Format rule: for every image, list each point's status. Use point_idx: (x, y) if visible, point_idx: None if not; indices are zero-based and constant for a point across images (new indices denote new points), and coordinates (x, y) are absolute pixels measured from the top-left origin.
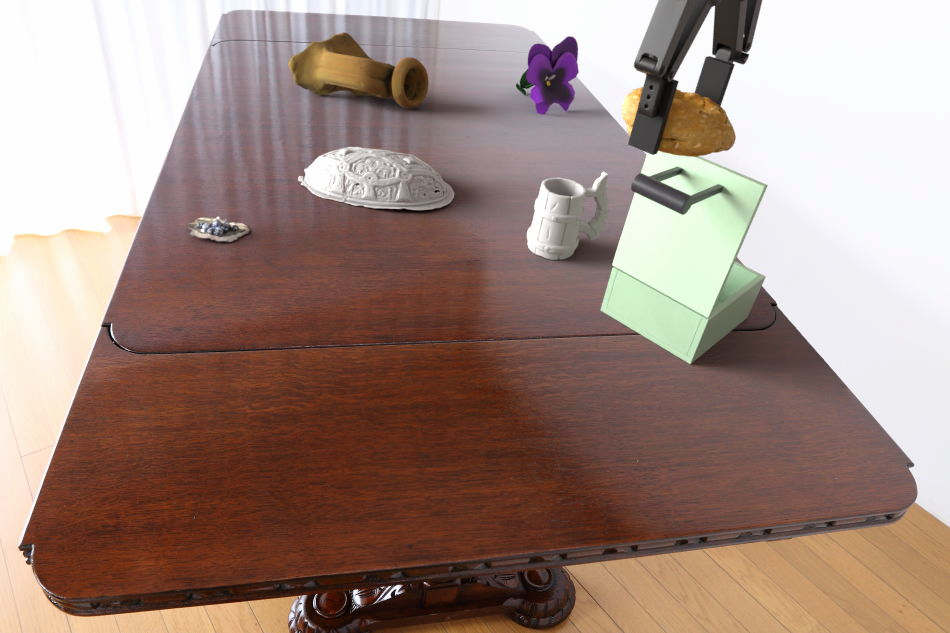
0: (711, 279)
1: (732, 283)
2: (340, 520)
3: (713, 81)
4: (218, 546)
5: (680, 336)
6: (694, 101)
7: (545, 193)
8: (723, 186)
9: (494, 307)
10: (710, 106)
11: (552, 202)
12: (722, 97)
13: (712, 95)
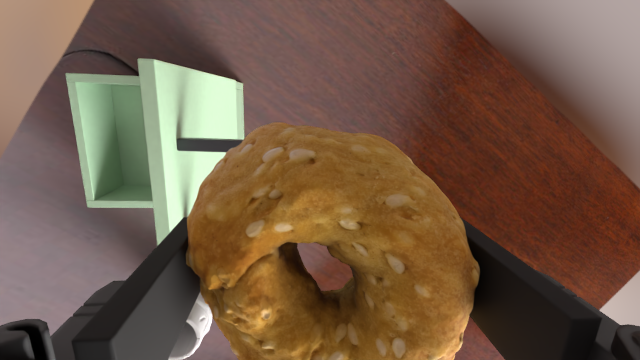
0: (223, 93)
1: (96, 108)
2: (566, 164)
3: (158, 322)
4: (614, 193)
5: (239, 103)
6: (269, 286)
7: (201, 339)
8: (176, 139)
9: (324, 251)
10: (266, 241)
11: (202, 324)
12: (153, 259)
13: (173, 284)
